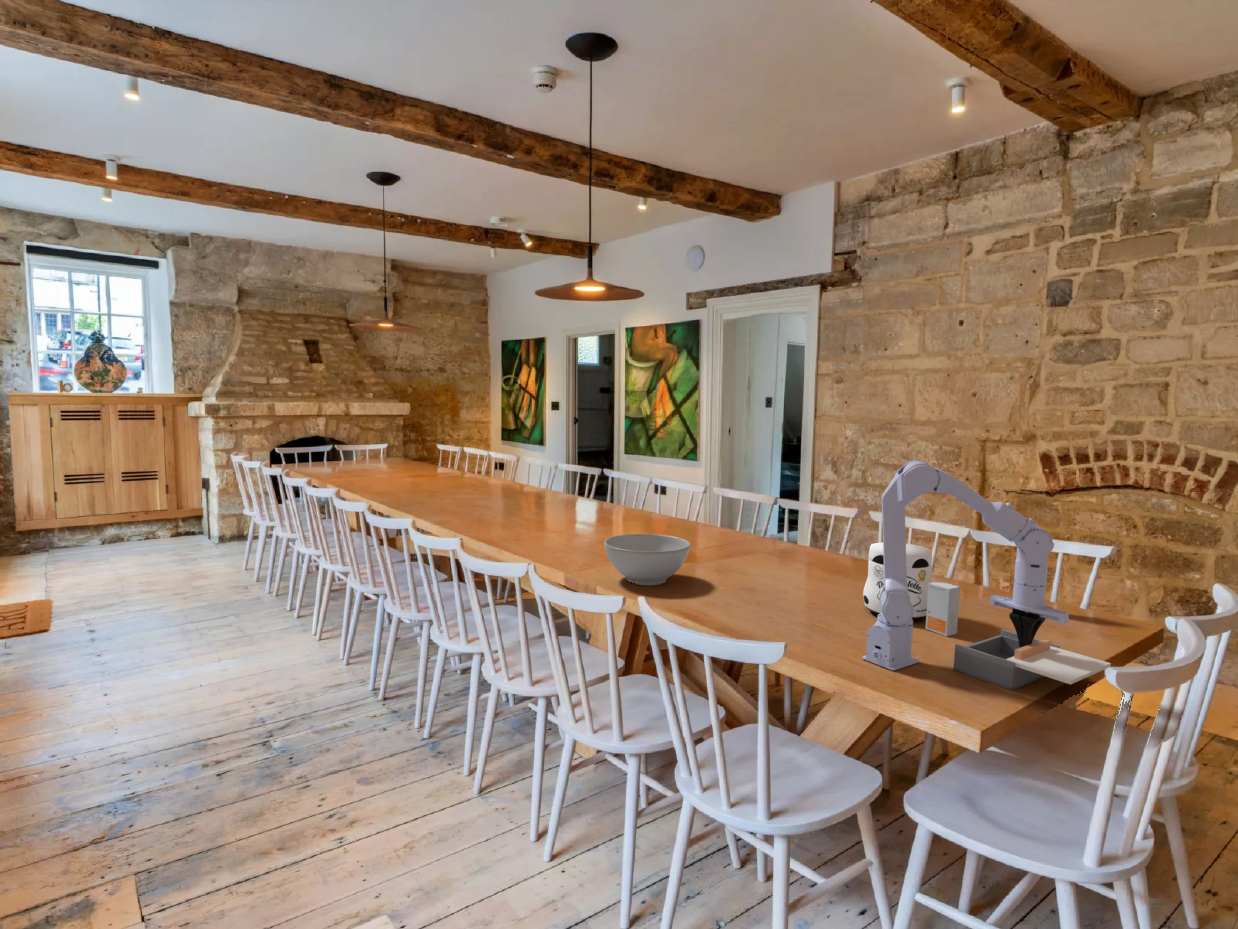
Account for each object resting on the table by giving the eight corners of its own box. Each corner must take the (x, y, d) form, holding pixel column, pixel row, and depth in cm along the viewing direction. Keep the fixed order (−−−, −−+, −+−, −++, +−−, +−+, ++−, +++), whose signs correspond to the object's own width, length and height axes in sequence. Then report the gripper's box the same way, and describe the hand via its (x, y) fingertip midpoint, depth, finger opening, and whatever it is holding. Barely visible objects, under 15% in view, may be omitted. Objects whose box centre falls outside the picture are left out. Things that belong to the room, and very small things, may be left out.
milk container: (889, 626, 171) (893, 556, 170) (849, 606, 188) (852, 542, 186) (947, 622, 176) (951, 553, 174) (902, 602, 193) (906, 540, 191)
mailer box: (1011, 690, 134) (1013, 663, 134) (953, 669, 144) (955, 644, 144) (1057, 671, 144) (1059, 645, 144) (1000, 653, 154) (1002, 629, 154)
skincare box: (924, 629, 170) (927, 582, 169) (935, 626, 172) (938, 580, 171) (946, 637, 165) (950, 588, 164) (957, 634, 167) (960, 586, 166)
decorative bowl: (689, 571, 224) (690, 535, 223) (689, 594, 197) (690, 553, 196) (608, 568, 226) (609, 532, 225) (598, 590, 200) (598, 549, 199)
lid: (1070, 684, 126) (1071, 671, 126) (1004, 662, 136) (1005, 650, 136) (1110, 666, 135) (1111, 654, 135) (1046, 647, 145) (1046, 636, 145)
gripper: (1078, 589, 136) (1072, 655, 137) (1004, 573, 148) (1000, 633, 149) (1061, 594, 132) (1055, 661, 133) (986, 577, 144) (982, 639, 145)
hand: (1025, 647), depth 141 cm, fingers closed
